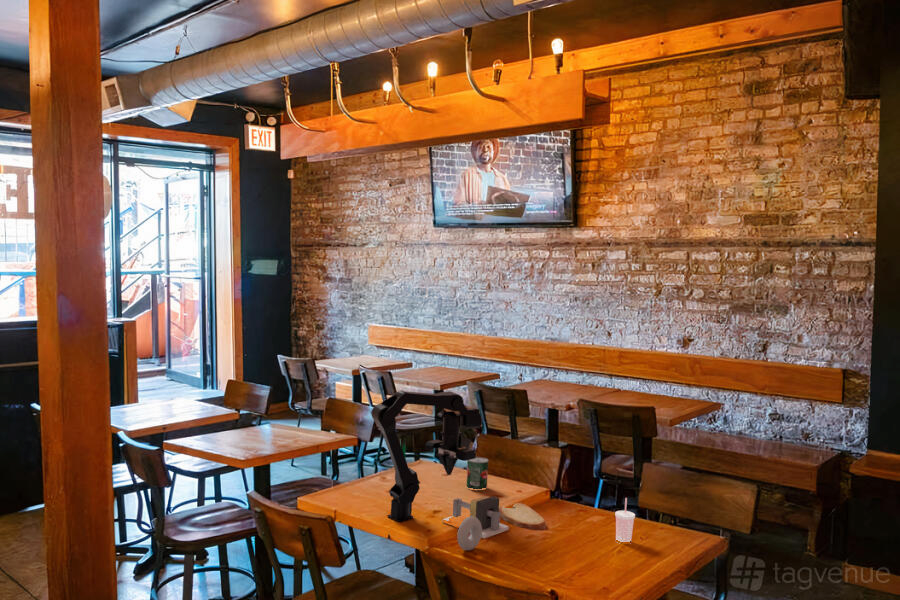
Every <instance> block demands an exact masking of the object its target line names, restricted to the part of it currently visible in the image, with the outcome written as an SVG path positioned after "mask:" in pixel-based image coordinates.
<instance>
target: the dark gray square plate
mask: <svg viewBox="0 0 900 600" xmlns="http://www.w3.org/2000/svg"><path fill="white" fill-rule="evenodd" d="M488 497H489V496H488ZM499 508H500V497H497V496H494V495H492V496H490V497H489V498H486V499H483V500H480V501H477V502H476V518H478V520H479V521H480V522H481V526H482V529H484V528H487V527H490V526H491V517H490V516H487V509H488V510H490V511H493V512H496V511H497V512H499Z"/></svg>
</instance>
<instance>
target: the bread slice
mask: <svg viewBox="0 0 900 600" xmlns="http://www.w3.org/2000/svg"><path fill="white" fill-rule="evenodd" d="M513 504H514V505H513V507H512V508H505V507H506V506H501V505H499V512H500V519H501V520H503V521H504V522H507V523H509V524H511V525H512V526H516V527H519V528H522V529H529V530H536V531H537V530H546V529H547V524H546V520H545V519H544V518H543V516H541V515H540V513H538V512H536V510H533V508H531V507H530V506H528V505H526V504H524V503H523V502H517V503H513Z"/></svg>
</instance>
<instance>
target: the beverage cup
mask: <svg viewBox="0 0 900 600" xmlns="http://www.w3.org/2000/svg"><path fill="white" fill-rule="evenodd" d="M624 500H625V501H624V510H617V511H615V515H614V516H615V541H616V540H618V541H620V542H630V541H631V542H632V536H633V529H634V521H635V517H636V514H635V513H634V512H632V511H629V510H627V504H628V497H625V499H624Z"/></svg>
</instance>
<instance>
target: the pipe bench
mask: <svg viewBox="0 0 900 600" xmlns="http://www.w3.org/2000/svg"><path fill="white" fill-rule="evenodd" d="M452 502H453V504H452V505H453V506H452V515H451V516H448V517H445V518H443V519H442V521H443V520H446V521H449V518H451V517H453V516H454V517H458V516H461V513H462V508H464V509H467V510H470V503H471V502H467V501H464V500H462V499H461V498H460V497H459V498H454V499H453V501H452ZM487 516H490V517H491V526H490V527H487V528H484V529H482V536H481V538H482V539H487V538H489V537H493V536H495V535H498V534H500V533H503V532H506V531H509V529H510V528H509V526H508V525H506V524H504V523H501V521H500V520H501V518H500V512H497V511H496V512H493V511H490V510H488V509H487ZM469 534H471V530H470V532H469Z"/></svg>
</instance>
